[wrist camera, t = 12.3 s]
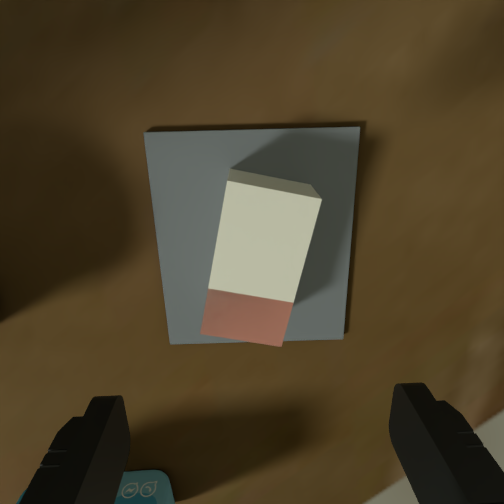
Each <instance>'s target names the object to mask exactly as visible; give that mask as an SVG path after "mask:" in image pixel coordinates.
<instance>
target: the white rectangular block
mask: <svg viewBox="0 0 504 504" xmlns="http://www.w3.org/2000/svg"><path fill="white" fill-rule="evenodd" d="M321 201H322V199H321V197H320V196H319V195H318V193H317V192H316V191H315V190H314V188H313V187H312V186H311V185H310V184H305V183H300V182H295V181H290V180H285V179H280V178H275V177H270V176H265V175H260V174H255V173H250V172H245V171H240V170H235V169H230V170H229V174H228V179H227V184H226V190H225V195H224V201H223V207H222V212H221V218H220V224H219V229H218V235H217V241H216V246H215V252H214V258H213V264H212V269H211V275H210V281H209V286H208V292H207V298H206V303H205V309H204V315H203V320H202V326H201V332H200V334H203V335H209V336H216V337H222V338H229V339H235V340H241V341H248V342H254V343H260V344H267V345H273V346H279V347H281V346H282V343H283V339H284V335H285V332H286V328H287V325H288V321H289V317H290V314H291V310H292V306H293V303H294V299H295V295H296V292H297V288H298V285H299V281H300V277H301V274H302V270H303V266H304V263H305V259H306V255H307V252H308V248H309V245H310V241H311V237H312V234H313V230H314V226H315V223H316V219H317V215H318V212H319V208H320V205H321Z"/></svg>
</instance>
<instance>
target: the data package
mask: <svg viewBox="0 0 504 504" xmlns="http://www.w3.org/2000/svg"><path fill="white" fill-rule="evenodd" d="M26 490H27V489H26ZM26 490H25V491H24V492H23V494H22V495H21V496H20V498H19V500H18V501H17V503H16V504H19V503H20V501H21V499H22V497H23V495H24V493H25V492H26ZM114 504H175V501H174V497H173V493H172V489H171V485H170V480H169V478H168V476H167V475H166V474H165V473H164V472H162V471H160V470H141V471H128V472H124V473H123V476H122V480H121V483H120V486H119V490H118V493H117V496H116V499H115V503H114Z"/></svg>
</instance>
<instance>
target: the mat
mask: <svg viewBox="0 0 504 504" xmlns="http://www.w3.org/2000/svg"><path fill="white" fill-rule="evenodd" d="M359 136H360V127H321V128H282V129H243V130H204V131H166V132H144V141H145V149H146V157H147V165H148V173H149V181H150V189H151V197H152V205H153V212H154V220H155V228H156V236H157V244H158V252H159V260H160V268H161V276H162V284H163V292H164V300H165V308H166V316H167V324H168V332H169V340H170V344H196V343H230V342H248V341H241V340H235V339H229V338H222V337H216V336H209V335H203V334H200V332H201V326H202V320H203V315H204V309H205V303H206V298H207V292H208V286H209V281H210V275H211V269H212V264H213V258H214V252H215V246H216V241H217V235H218V229H219V224H220V218H221V212H222V207H223V201H224V195H225V190H226V184H227V179H228V174H229V170H230V169H235V170H240V171H245V172H250V173H255V174H260V175H265V176H270V177H275V178H280V179H285V180H290V181H295V182H300V183H305V184H310V185H311V186H312V187H313V188H314V190H315V191H316V192H317V193H318V195H319V196H320V197H321V199H322V201H321V205H320V208H319V212H318V215H317V219H316V223H315V226H314V230H313V234H312V237H311V241H310V245H309V248H308V252H307V255H306V259H305V263H304V266H303V270H302V274H301V277H300V281H299V285H298V288H297V292H296V295H295V299H294V303H293V306H292V310H291V314H290V317H289V321H288V325H287V328H286V332H285V335H284V339H283V341H296V340H329V339H343V335H344V323H345V310H346V298H347V285H348V273H349V261H350V248H351V236H352V223H353V211H354V198H355V186H356V174H357V161H358V149H359Z"/></svg>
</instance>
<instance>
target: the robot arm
mask: <svg viewBox="0 0 504 504" xmlns="http://www.w3.org/2000/svg"><path fill="white" fill-rule="evenodd" d="M389 433H390V438H391V442H392V444H393V447H394V449H395V451H396V454H397V456H398V458H399V460H400V462H401V465H402V467H403V469H404V471H405V473H406V476H407V478H408V480H409V482H410V484H411V486H412V489H413V491H414V493H415V495H416V497H417V500H418V502H419V504H504V472H503V471H502V469H501V468H500V467H499V465H498V464H497V462H496V461H495V460H494V458H493V457H492V455H491V454H490V453H489V451H488V450H487V448H485V447H484V446H483V443H482V442H481V440H480V439H479V437H478V436H477V435H476V434H474V432H473V429H472V428H471V426H470V425H469V423H468V422H467V421H466V419H465V418H464V417H463V415H462V414H461V413H460V412H459V411H457V410H456V409H455V408H453V407H452V406H451V405H450V404H448V403H447V402H446V401H445V400H443V401H436V400H435V398H434V397H433V395H432V394H431V392H430V391H429V389H428V388H427V386H426V385H425V384H424V383H401V384H396V385H395V387H394V392H393V398H392V405H391V412H390V418H389ZM129 451H130V432H129V426H128V421H127V416H126V411H125V406H124V401H123V398H122V396H120V395H118V396H97V397H93V398H92V400H91V402H90V404H89V406H88V408H87V410H86V412H85V414H84V416H82V417H73V418H71V419H70V420H69V421H68V422H67V423H66V424H65V425H64V426H63V427H62V428H61V429H60V430H59V431H58V432H57V434H56V436H55V438H54V440H53V442H52V443H51V445H50V447H49V449H48V453H47V454H46V455H45V456H44V458H43V460H42V462H41V464H40V468H39V469H37V471H36V473H35V475H34V477H33V479H32V480H31V482H30V484H29V486H28V488H27V490H26V492H25V493H24V495H23V497H22V499H21V501H20V503H19V504H114V503H115V499H116V496H117V493H118V490H119V486H120V483H121V480H122V476H123V473H124V470H125V466H126V463H127V460H128V456H129Z"/></svg>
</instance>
